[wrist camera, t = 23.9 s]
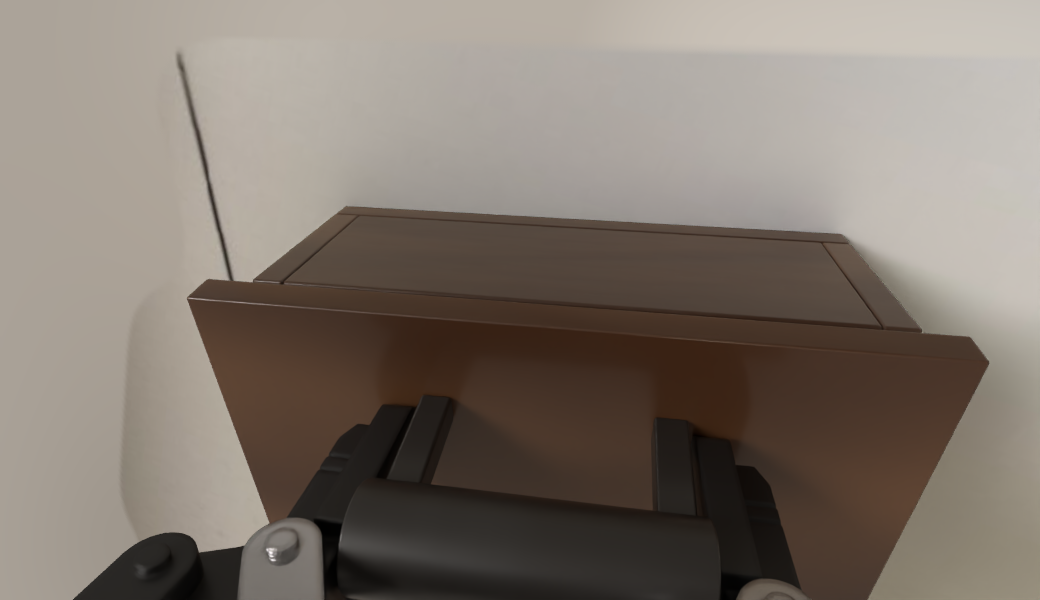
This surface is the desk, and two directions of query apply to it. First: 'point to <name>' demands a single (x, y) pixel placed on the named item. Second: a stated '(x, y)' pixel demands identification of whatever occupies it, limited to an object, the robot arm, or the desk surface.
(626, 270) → the wooden box
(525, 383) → the lid
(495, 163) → the desk surface
